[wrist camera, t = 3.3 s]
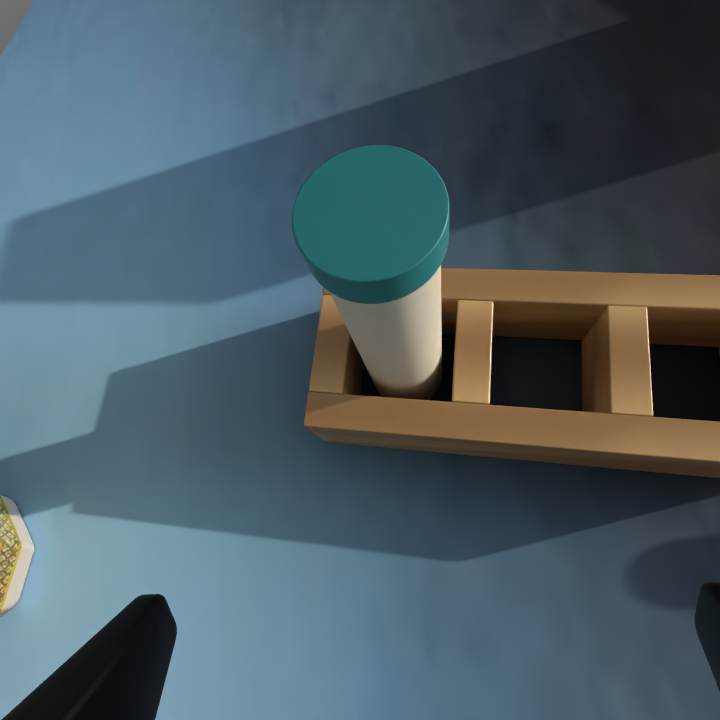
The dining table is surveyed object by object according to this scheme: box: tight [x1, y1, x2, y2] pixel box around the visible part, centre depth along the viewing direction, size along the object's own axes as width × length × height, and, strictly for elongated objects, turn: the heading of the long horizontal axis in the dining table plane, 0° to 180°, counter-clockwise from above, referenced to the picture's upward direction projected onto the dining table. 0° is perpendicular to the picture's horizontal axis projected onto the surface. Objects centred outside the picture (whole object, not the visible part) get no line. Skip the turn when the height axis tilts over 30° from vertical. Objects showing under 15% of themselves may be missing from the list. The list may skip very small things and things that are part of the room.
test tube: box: [292, 145, 450, 400], centre depth 18 cm, size 4×4×13 cm
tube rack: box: [303, 268, 720, 478], centre depth 21 cm, size 7×18×4 cm, turn 84°
